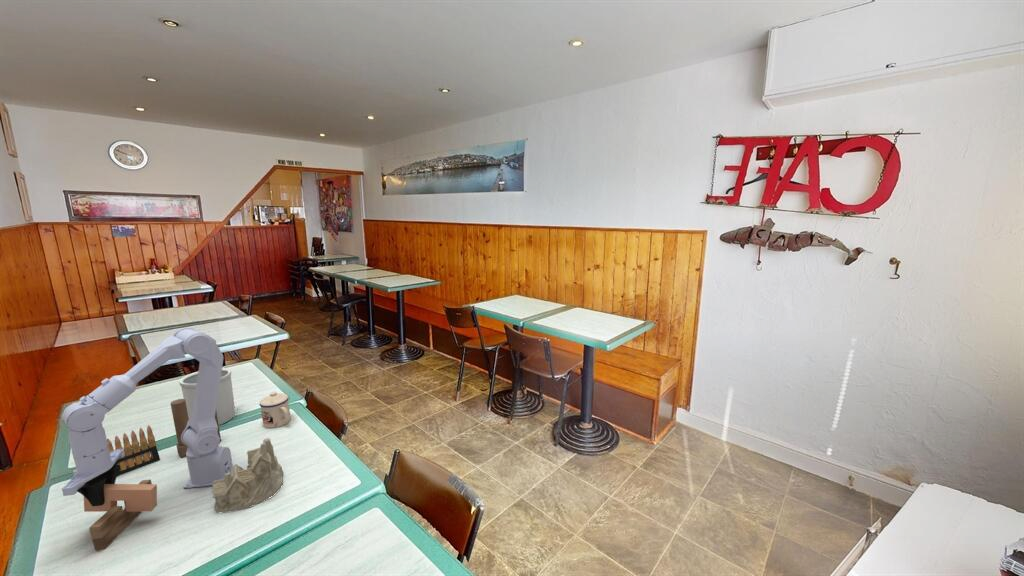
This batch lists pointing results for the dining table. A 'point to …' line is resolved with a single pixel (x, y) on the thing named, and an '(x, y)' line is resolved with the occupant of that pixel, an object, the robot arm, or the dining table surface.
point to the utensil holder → (224, 395)
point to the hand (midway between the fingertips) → (102, 500)
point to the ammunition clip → (135, 451)
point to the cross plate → (126, 497)
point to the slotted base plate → (112, 524)
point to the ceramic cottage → (249, 481)
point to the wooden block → (183, 423)
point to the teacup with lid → (275, 410)
